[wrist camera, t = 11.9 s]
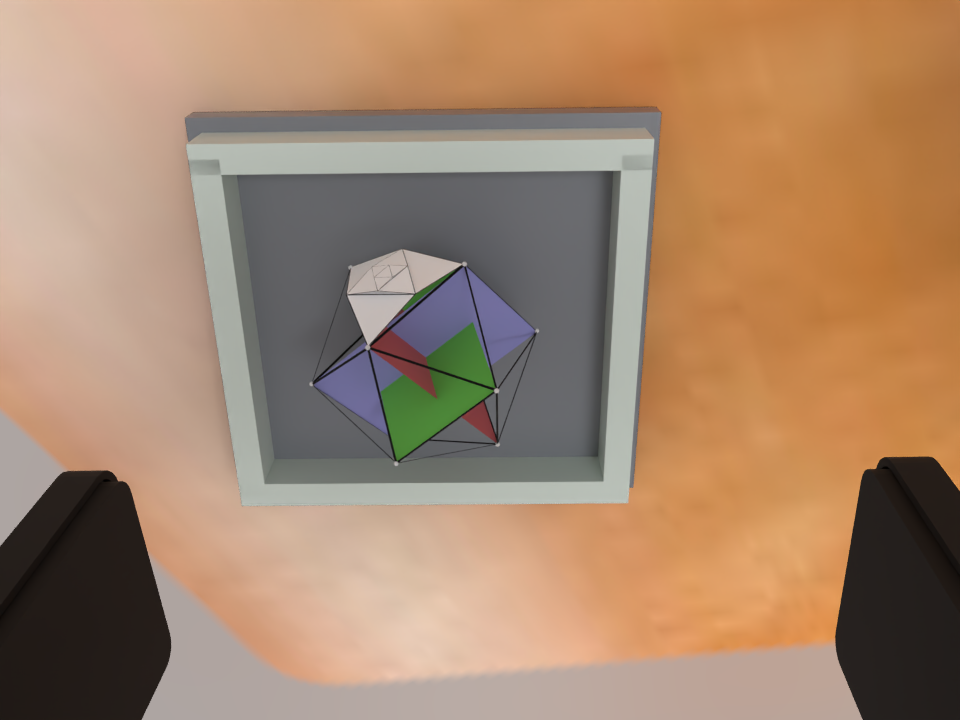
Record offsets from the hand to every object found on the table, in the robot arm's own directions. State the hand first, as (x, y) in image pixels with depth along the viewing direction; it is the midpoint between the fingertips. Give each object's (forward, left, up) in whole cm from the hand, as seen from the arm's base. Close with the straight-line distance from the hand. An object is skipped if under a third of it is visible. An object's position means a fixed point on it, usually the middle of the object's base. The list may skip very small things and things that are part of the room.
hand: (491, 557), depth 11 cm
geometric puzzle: (+2, +6, -22) cm, 22 cm away
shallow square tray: (+2, +6, -22) cm, 23 cm away
